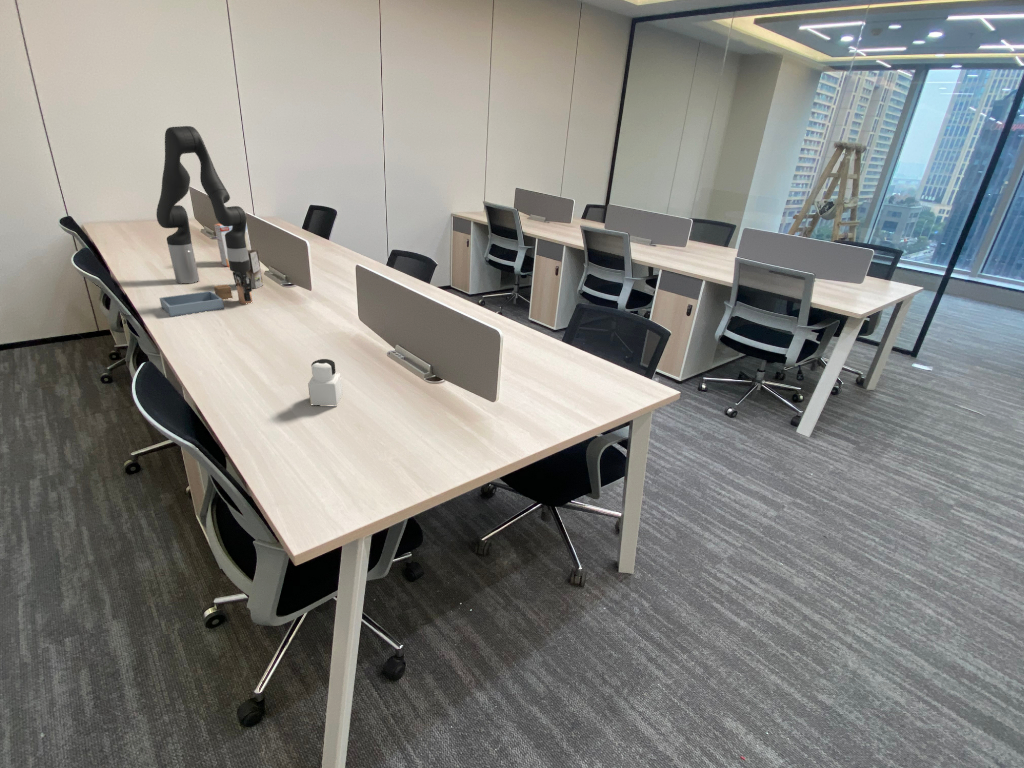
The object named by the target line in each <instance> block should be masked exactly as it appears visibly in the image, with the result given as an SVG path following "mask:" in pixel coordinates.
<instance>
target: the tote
mask: <svg viewBox="0 0 1024 768" xmlns="http://www.w3.org/2000/svg"><path fill="white" fill-rule="evenodd" d="M159 303H160V306H161V309H162V310H163V311H165V313H167V314H168V315H169V317H171V318H174V317H175V316H176V317H180V316H181V315H182V316H187V315H186V314H188V315H193V314H192V313H195V314H198V313H199V312H201V313H206V312H205V311H207V312H211V311H212V312H213V310H214V311H219V309H220V310H224V309H225V306H224V300H222V299H221V298H220V297H219V296H217V295H216V294H215V292H213V291H212V290H207V291H201V292H193V293H187V294H178V295H172V296H171V295H170V296H164V297H159ZM199 314H200V313H199Z"/></svg>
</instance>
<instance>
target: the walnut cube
mask: <svg viewBox="0 0 1024 768" xmlns="http://www.w3.org/2000/svg"><path fill="white" fill-rule="evenodd" d="M213 290H214V293H215V294H216V295H217V296H219V297H220V298H221V299H225V300H229V299H228V298H232V299H233V293H232V287H231V286H230V285H228V284H227V283H226V284H218V285H213Z"/></svg>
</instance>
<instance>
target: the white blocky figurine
mask: <svg viewBox="0 0 1024 768" xmlns="http://www.w3.org/2000/svg"><path fill="white" fill-rule="evenodd" d="M311 374H312V375H311V376H312V377H311V378H310V380H309V381H308V383H307V386H308V391H309V392H308V393H309V394H308V395H309V400H310V401H309V403H310V405H311V404H313V405H337V404H338V405H339V403H340V401H339V400H341V399H340V398H342V397H341V395H342V396H343V388H342V387H343V386H342V379H341V377H342V376H341V373H340V372H336V364H335V361H334V360H331V359H328V358H319V359H316V360H314V361H313V362H312V363H311ZM338 402H339V403H338ZM338 405H337V406H338Z"/></svg>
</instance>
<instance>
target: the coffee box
mask: <svg viewBox="0 0 1024 768" xmlns="http://www.w3.org/2000/svg"><path fill="white" fill-rule="evenodd" d="M247 251H248V256H249V262H250V268H251V269H250V270H249V271H247V272H246V273H247V275H248V277H249V278H250V279H251V288H252V289H258V288H260V287H263V286H264V283H263V276H262V269H261V264H260V256H259V251H258V250H257V249H256V250H253V249H251V250H247ZM262 285H263V286H262ZM257 287H258V288H257Z"/></svg>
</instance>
